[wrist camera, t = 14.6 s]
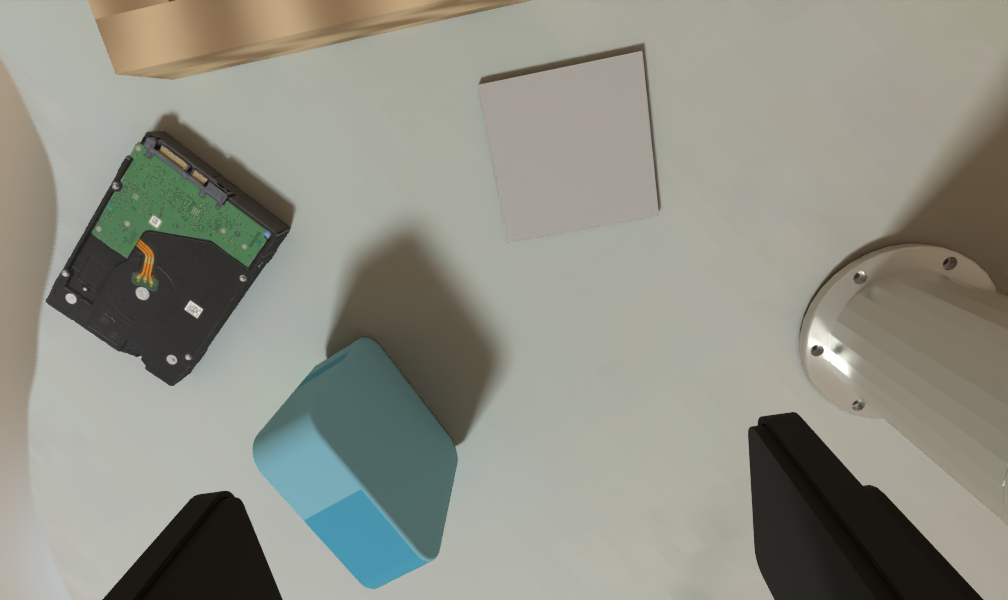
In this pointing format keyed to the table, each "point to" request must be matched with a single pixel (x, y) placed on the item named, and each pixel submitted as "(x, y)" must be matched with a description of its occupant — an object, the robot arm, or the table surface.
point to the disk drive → (166, 258)
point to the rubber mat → (571, 147)
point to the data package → (362, 464)
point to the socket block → (250, 29)
